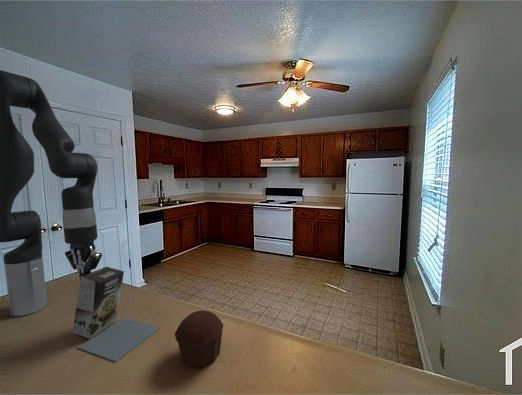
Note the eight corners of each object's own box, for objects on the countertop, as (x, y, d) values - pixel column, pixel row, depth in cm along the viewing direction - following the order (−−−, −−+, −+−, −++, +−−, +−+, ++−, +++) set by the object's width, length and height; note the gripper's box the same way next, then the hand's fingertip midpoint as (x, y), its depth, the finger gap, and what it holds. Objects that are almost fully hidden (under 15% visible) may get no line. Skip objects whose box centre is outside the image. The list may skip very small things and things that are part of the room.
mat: (77, 348, 64) (77, 347, 64) (125, 318, 77) (125, 317, 77) (116, 362, 59) (115, 361, 59) (160, 328, 72) (160, 327, 72)
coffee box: (90, 339, 67) (99, 282, 65) (71, 332, 68) (79, 276, 67) (117, 321, 76) (125, 271, 74) (99, 315, 77) (107, 265, 76)
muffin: (185, 339, 66) (183, 303, 65) (227, 338, 66) (225, 302, 66) (169, 375, 55) (166, 331, 54) (220, 373, 55) (218, 330, 54)
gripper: (50, 226, 69) (57, 286, 71) (81, 228, 64) (87, 293, 66) (79, 221, 76) (84, 276, 78) (109, 222, 71) (114, 281, 73)
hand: (86, 284), depth 72 cm, fingers closed
